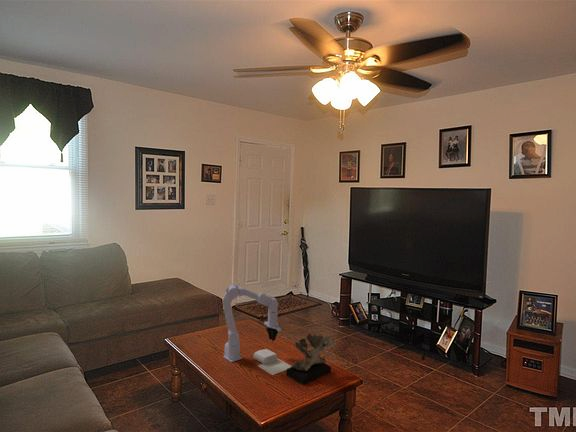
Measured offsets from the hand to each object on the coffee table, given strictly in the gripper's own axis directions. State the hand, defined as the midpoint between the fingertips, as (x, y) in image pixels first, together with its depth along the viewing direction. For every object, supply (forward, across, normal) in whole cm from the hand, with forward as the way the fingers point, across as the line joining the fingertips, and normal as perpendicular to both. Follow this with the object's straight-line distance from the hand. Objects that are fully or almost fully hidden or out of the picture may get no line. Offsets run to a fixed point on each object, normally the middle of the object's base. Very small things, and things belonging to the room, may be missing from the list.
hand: (272, 339), depth 229 cm
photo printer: (+8, -7, +6) cm, 12 cm away
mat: (+10, -12, +7) cm, 17 cm away
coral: (+11, -33, -4) cm, 35 cm away
